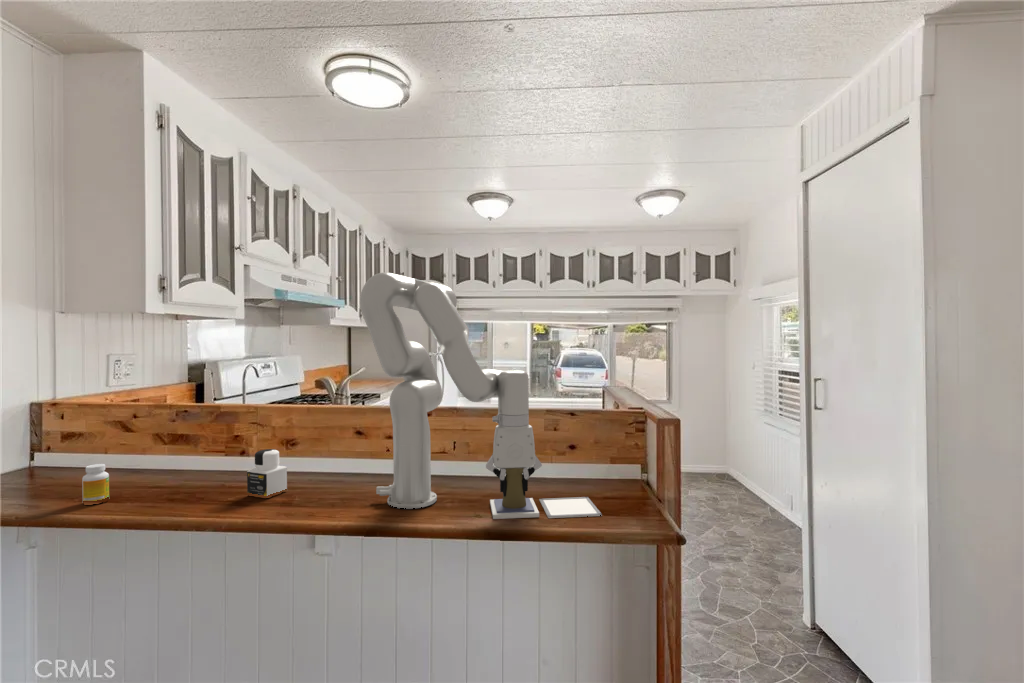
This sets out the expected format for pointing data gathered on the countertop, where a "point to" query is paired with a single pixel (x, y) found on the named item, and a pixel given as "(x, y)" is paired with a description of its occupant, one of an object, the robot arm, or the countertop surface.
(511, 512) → the ink pad
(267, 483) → the medicine bottle
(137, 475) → the countertop surface
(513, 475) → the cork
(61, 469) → the countertop surface
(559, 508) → the marked square
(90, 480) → the supplement bottle
